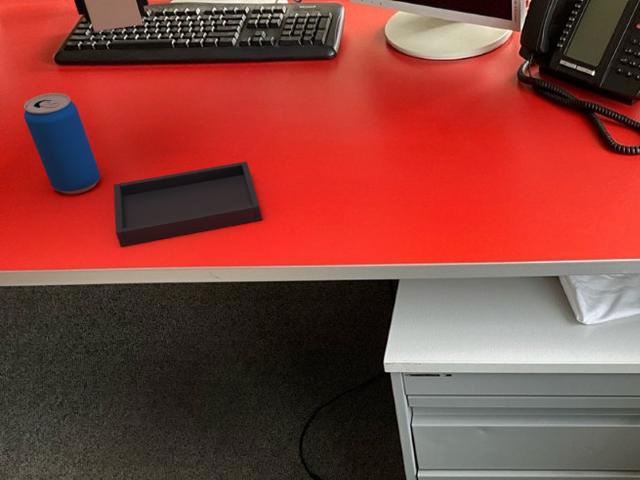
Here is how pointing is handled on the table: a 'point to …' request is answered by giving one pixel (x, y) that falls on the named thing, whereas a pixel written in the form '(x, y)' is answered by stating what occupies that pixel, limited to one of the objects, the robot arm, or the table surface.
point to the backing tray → (185, 203)
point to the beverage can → (61, 143)
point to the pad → (113, 14)
